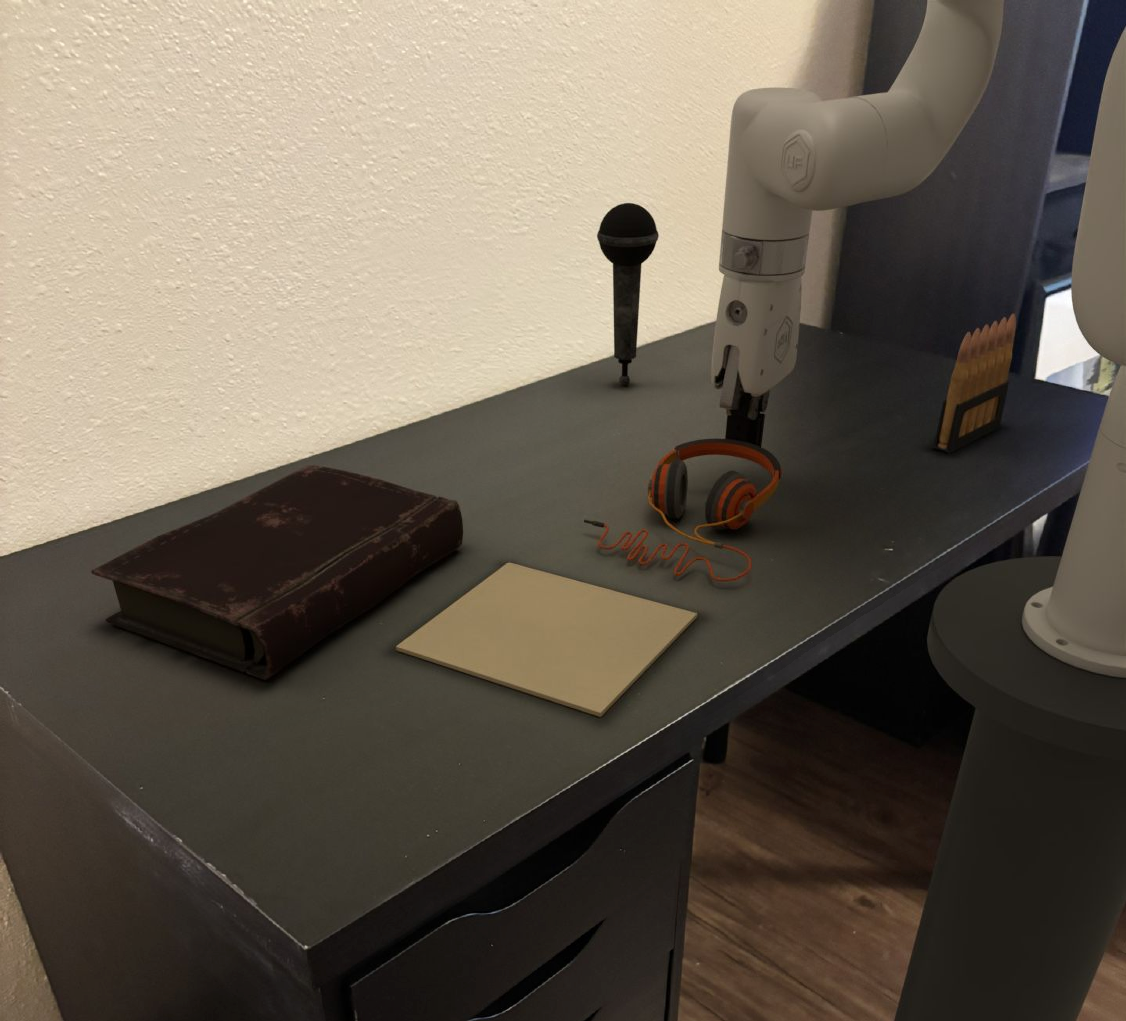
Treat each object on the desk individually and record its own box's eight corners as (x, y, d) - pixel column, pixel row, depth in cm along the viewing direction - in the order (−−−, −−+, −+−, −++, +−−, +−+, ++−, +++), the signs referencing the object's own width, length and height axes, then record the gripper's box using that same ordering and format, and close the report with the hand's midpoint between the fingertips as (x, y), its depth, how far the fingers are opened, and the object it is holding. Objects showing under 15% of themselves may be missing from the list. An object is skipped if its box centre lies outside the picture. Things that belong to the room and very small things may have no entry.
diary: (467, 551, 98) (464, 499, 95) (274, 687, 81) (262, 628, 78) (307, 507, 106) (299, 457, 103) (100, 623, 89) (83, 567, 86)
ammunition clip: (948, 453, 115) (972, 335, 108) (932, 449, 116) (955, 331, 109) (1000, 427, 121) (1026, 313, 114) (984, 422, 122) (1009, 310, 115)
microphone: (628, 372, 137) (632, 194, 125) (664, 387, 132) (672, 204, 120) (584, 384, 133) (584, 202, 121) (620, 399, 129) (623, 212, 117)
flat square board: (697, 617, 89) (697, 613, 88) (600, 717, 78) (600, 712, 77) (508, 566, 96) (508, 561, 96) (396, 650, 85) (395, 646, 85)
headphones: (736, 615, 93) (824, 487, 104) (735, 564, 89) (827, 437, 100) (565, 570, 100) (664, 455, 111) (557, 521, 96) (661, 407, 107)
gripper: (769, 279, 90) (746, 489, 101) (833, 240, 100) (806, 436, 111) (686, 266, 93) (673, 472, 104) (757, 230, 103) (737, 421, 114)
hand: (742, 453), depth 108 cm, fingers closed
